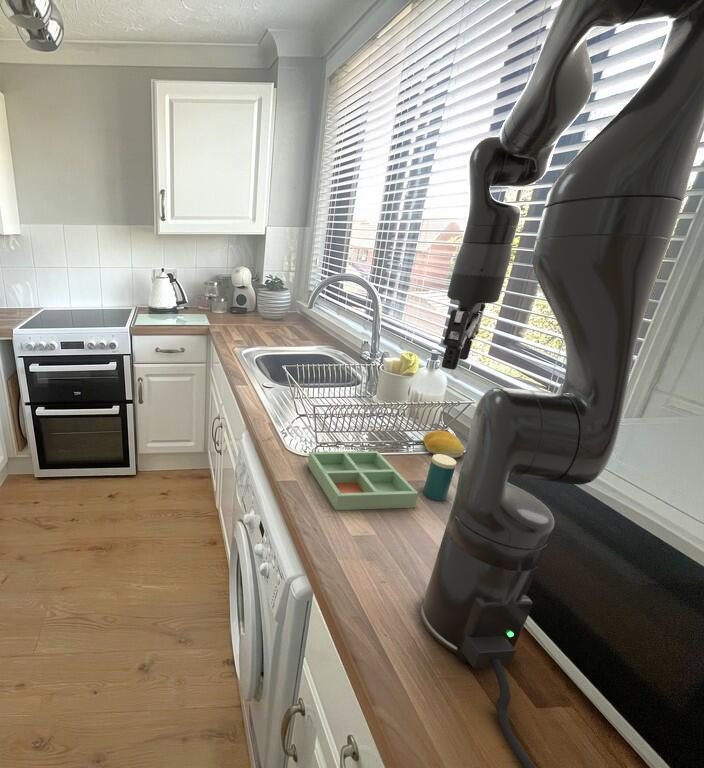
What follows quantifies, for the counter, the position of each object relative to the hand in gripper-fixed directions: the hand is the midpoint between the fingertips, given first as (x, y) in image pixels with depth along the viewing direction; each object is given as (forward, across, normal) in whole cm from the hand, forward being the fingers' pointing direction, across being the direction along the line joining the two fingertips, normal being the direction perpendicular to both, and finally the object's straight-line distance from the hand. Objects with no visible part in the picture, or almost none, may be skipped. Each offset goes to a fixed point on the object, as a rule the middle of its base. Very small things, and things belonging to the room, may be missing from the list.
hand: (454, 363), depth 75 cm
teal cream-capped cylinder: (+26, -2, -3) cm, 26 cm away
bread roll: (+26, +19, +1) cm, 32 cm away
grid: (+26, -10, +10) cm, 29 cm away
